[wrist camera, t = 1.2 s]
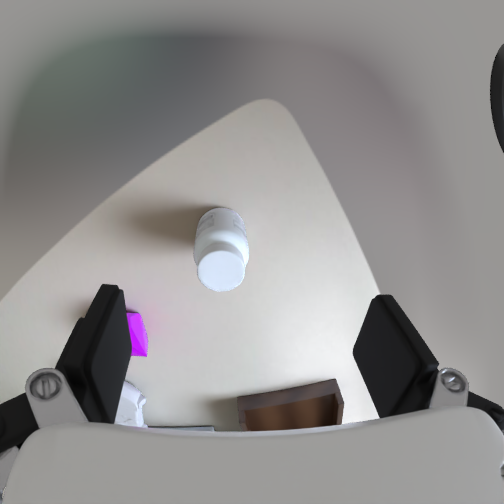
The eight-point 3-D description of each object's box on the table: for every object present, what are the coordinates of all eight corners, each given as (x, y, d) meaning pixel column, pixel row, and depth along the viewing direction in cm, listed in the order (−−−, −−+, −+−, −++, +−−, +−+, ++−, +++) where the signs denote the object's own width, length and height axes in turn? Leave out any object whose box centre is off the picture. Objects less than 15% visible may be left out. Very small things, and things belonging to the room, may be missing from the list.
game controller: (67, 376, 33) (135, 404, 33) (82, 355, 37) (147, 379, 37) (86, 430, 39) (142, 453, 39) (97, 411, 43) (151, 432, 43)
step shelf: (337, 378, 41) (359, 442, 31) (332, 430, 49) (347, 481, 39) (235, 397, 41) (240, 465, 31) (253, 445, 49) (258, 498, 39)
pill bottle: (195, 247, 30) (188, 294, 23) (199, 204, 28) (192, 241, 21) (241, 252, 31) (247, 300, 24) (248, 209, 29) (256, 247, 22)
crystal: (129, 297, 32) (119, 325, 28) (158, 331, 34) (152, 360, 30) (97, 313, 33) (84, 340, 29) (125, 345, 35) (117, 373, 31)
